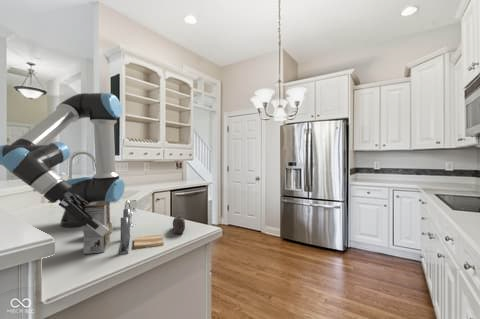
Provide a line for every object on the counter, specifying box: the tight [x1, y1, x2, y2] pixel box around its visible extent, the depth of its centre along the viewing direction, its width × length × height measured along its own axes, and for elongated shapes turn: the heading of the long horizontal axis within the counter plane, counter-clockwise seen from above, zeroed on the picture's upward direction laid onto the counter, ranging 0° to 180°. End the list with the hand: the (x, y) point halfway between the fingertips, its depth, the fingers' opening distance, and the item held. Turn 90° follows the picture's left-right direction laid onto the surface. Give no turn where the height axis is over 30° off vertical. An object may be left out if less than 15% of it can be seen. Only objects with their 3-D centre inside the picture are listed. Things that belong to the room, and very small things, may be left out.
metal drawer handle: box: [119, 208, 131, 256], centre depth 85 cm, size 17×2×12 cm, turn 24°
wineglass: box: [124, 199, 139, 228], centre depth 112 cm, size 6×6×12 cm
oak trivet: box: [133, 234, 165, 250], centre depth 89 cm, size 10×10×1 cm
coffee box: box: [83, 201, 111, 255], centre depth 82 cm, size 9×6×16 cm
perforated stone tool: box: [172, 215, 186, 235], centre depth 104 cm, size 15×5×7 cm, turn 15°
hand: (107, 229), depth 83 cm, fingers closed on coffee box, 9 cm apart
